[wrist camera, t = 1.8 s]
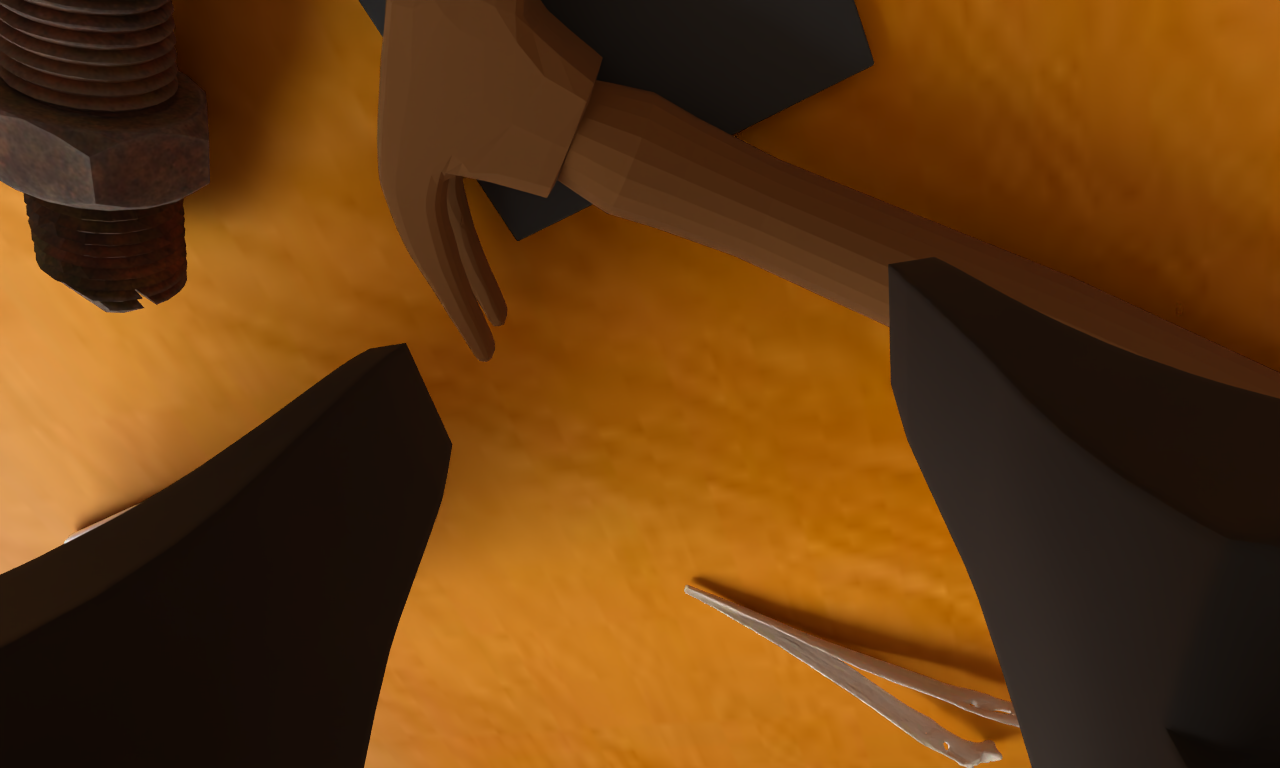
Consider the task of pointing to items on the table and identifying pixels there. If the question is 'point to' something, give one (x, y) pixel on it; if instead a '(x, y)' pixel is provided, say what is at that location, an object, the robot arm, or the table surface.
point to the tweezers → (906, 718)
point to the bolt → (102, 143)
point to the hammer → (667, 184)
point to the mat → (697, 66)
